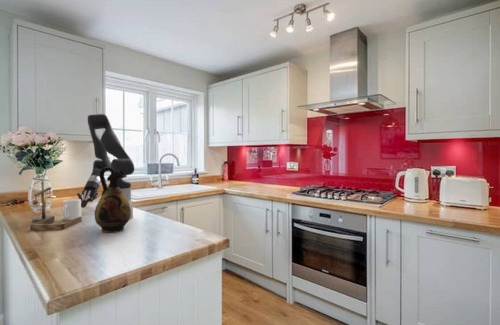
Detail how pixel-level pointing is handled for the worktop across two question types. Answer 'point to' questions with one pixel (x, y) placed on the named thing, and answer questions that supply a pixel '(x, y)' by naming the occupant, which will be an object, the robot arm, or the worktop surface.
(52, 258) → the worktop surface
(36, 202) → the balance
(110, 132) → the robot arm
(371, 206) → the worktop surface
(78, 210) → the mug
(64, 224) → the tray frame
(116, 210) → the ceramic jug
